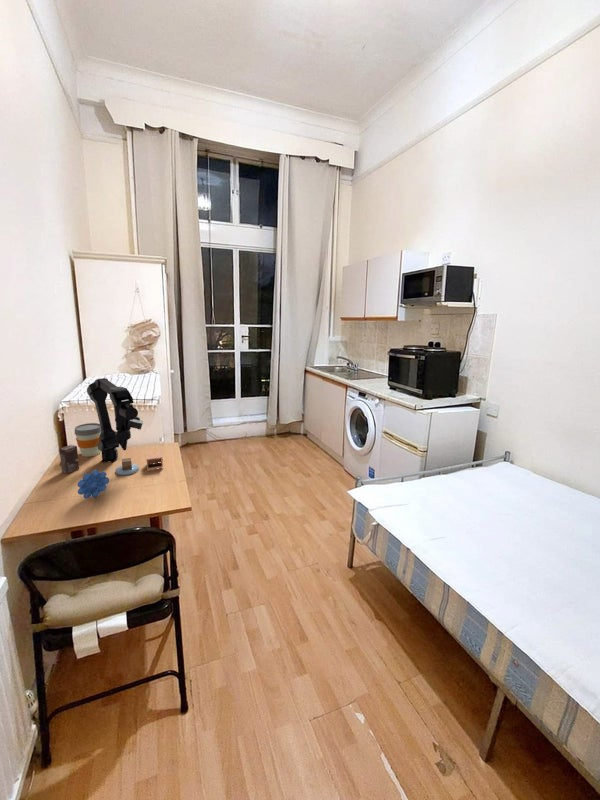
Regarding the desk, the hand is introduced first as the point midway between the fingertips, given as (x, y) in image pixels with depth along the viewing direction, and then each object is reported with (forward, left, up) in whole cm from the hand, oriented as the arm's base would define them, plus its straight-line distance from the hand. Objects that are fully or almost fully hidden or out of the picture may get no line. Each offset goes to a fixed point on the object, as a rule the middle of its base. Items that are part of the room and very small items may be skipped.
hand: (125, 446), depth 168 cm
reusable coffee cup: (-24, +25, -13) cm, 37 cm away
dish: (0, 0, -12) cm, 12 cm away
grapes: (-7, -23, -13) cm, 27 cm away
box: (-26, +4, -13) cm, 29 cm away
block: (0, 0, -11) cm, 11 cm away
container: (+12, +3, -12) cm, 18 cm away
